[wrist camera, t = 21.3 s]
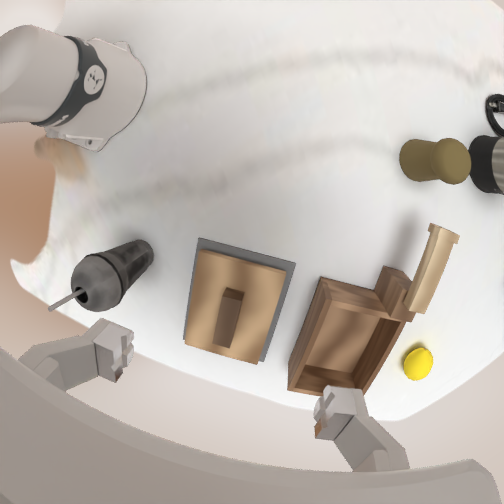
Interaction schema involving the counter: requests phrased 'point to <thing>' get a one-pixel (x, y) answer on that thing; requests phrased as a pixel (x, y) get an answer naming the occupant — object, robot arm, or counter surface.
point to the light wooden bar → (430, 268)
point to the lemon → (418, 364)
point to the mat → (252, 258)
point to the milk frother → (489, 153)
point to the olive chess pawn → (435, 160)
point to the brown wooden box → (348, 333)
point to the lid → (232, 306)
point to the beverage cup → (108, 276)
